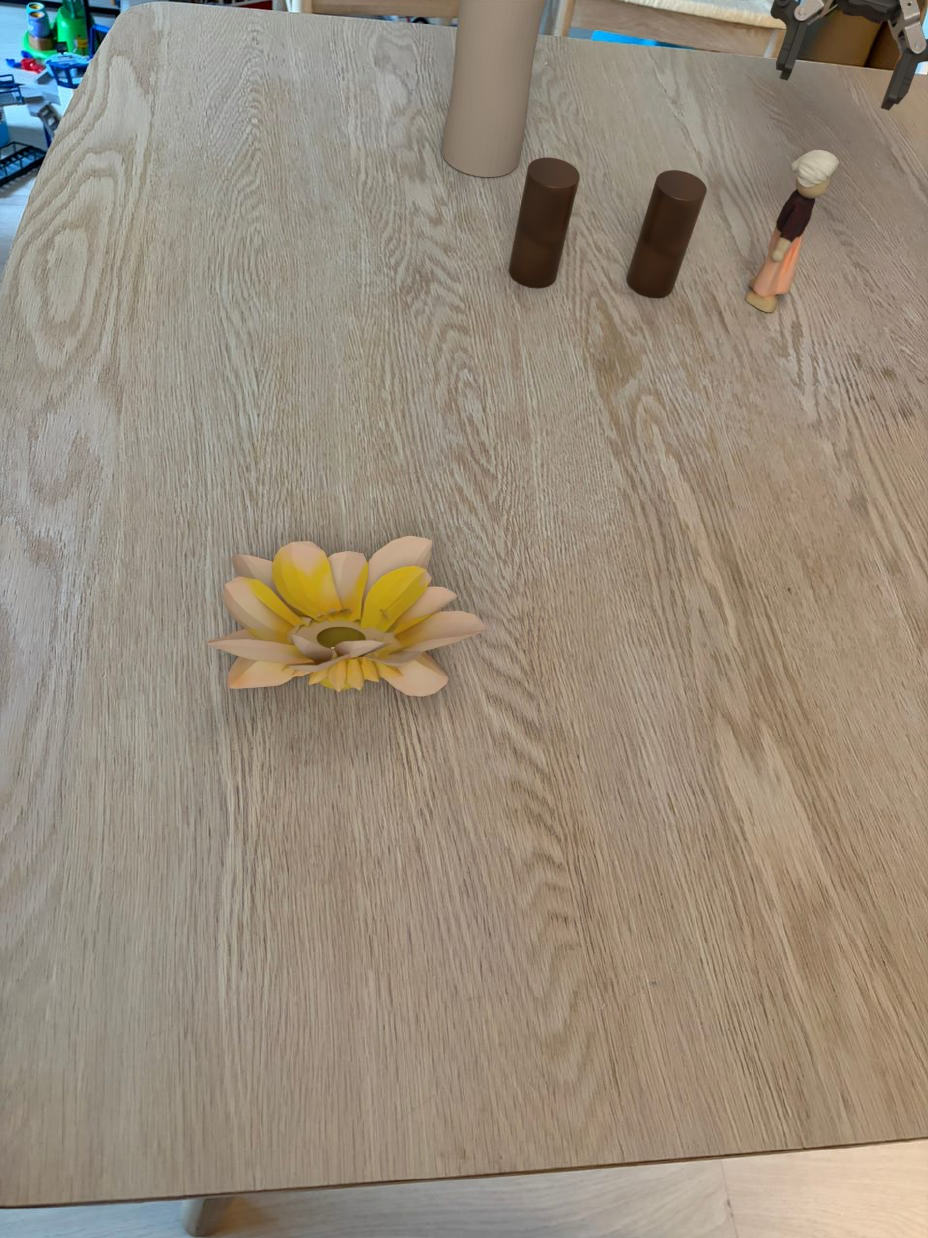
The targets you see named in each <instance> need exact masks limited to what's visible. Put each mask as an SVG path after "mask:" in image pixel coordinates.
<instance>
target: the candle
mask: <svg viewBox="0 0 928 1238" xmlns="http://www.w3.org/2000/svg"><path fill="white" fill-rule="evenodd" d="M546 2H547V0H459V5H458V11H457V21H456V35H455V46H454V57H453V58H454V59H453V72H452V73H453V74H452V81H451V82H452V83H451V89H450V96H449V103H448V107H447V113H446V118H445V123H444V129H443V135H442V141H441V149H440V150H441V155H442V158H443V159H444V161H445V162H446V163H447V164H448V165H450V166H451V167H452V168H454V169H455V170H457V171H459V172H462V173H464V174H466V175H470V176H474V177H480V178H497V177H502V176H505V175H508V174H510V173H512V172H513V171H515V170H516V168H518V166H519V164H520V159H521V154H522V148H523V143H524V140H525V134H526V133H525V131H526V124H527V117H528V109H529V100H530V93H531V92H530V91H531V83H532V75H533V74H532V73H533V66H534V61H535V60H534V59H535V53H536V47H537V42H538V37H539V32H540V28H541V24H542V20H543V14H544V11H545V7H546Z"/></svg>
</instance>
